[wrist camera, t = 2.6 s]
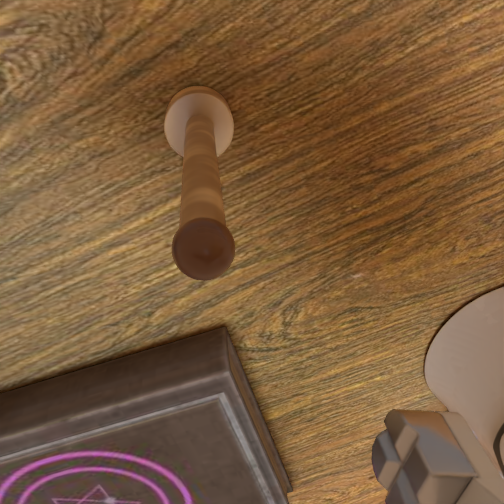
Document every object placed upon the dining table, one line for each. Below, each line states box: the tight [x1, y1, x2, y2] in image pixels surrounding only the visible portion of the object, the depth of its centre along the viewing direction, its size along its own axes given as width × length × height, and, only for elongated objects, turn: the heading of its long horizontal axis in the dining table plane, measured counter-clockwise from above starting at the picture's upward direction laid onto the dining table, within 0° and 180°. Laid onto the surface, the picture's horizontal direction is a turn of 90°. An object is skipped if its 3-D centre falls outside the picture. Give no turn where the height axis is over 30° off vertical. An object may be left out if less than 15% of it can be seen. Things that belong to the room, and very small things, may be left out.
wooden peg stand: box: [164, 86, 235, 280], centre depth 22 cm, size 4×4×17 cm
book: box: [0, 327, 293, 504], centre depth 41 cm, size 30×22×5 cm
